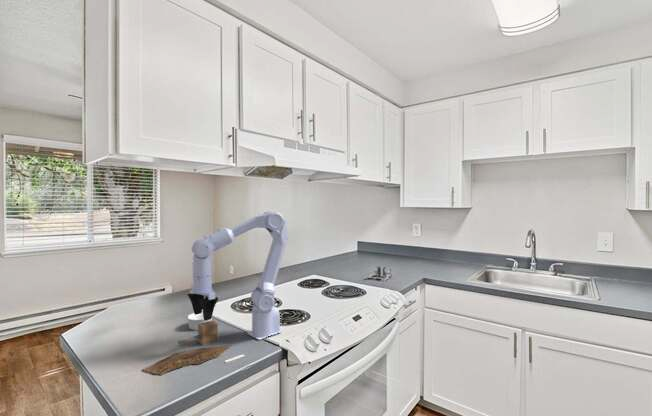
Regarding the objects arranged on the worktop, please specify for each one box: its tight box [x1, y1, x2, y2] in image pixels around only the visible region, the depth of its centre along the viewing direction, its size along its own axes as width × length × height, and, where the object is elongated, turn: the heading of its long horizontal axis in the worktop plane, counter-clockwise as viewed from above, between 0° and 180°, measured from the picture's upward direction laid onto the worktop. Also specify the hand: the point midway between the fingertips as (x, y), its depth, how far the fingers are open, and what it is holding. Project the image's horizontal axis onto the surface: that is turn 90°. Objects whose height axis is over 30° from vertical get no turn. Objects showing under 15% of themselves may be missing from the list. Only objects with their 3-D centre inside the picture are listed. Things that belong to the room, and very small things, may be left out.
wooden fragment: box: [141, 344, 232, 376], centre depth 95 cm, size 26×11×1 cm, turn 127°
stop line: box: [224, 354, 246, 364], centre depth 94 cm, size 6×1×1 cm, turn 134°
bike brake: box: [362, 264, 394, 281], centre depth 197 cm, size 14×7×20 cm
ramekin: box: [187, 311, 214, 331], centre depth 120 cm, size 9×9×4 cm
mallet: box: [177, 319, 219, 346], centre depth 104 cm, size 12×4×6 cm, turn 134°
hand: (202, 316), depth 103 cm, fingers open, 7 cm apart
